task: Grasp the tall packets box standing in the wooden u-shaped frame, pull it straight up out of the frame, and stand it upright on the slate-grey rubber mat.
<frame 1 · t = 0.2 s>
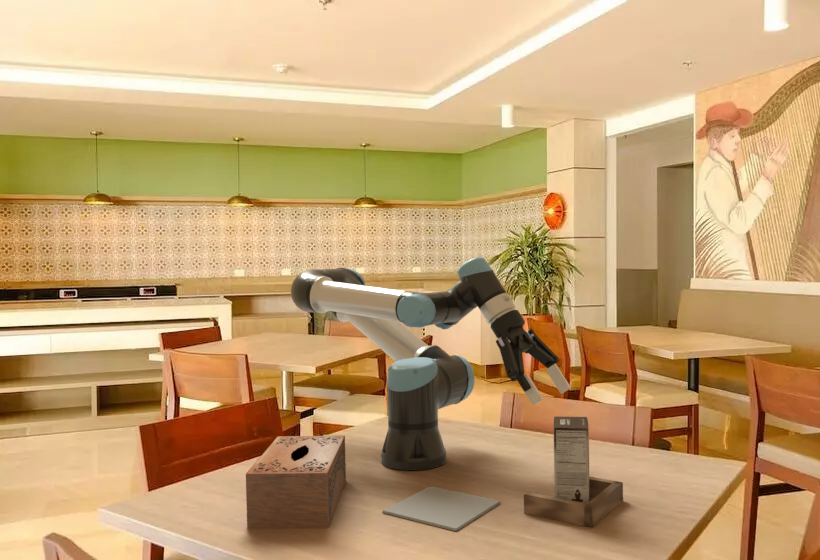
hand: (552, 396, 153), 16 cm above the table, tool tilted 35°, fingers open, 13 cm apart
grey mat: (442, 508, 129), on the table
coffee box: (572, 507, 129), on the table
wooden u-shaped frame: (572, 506, 129), on the table
tissue box cover: (301, 504, 134), on the table
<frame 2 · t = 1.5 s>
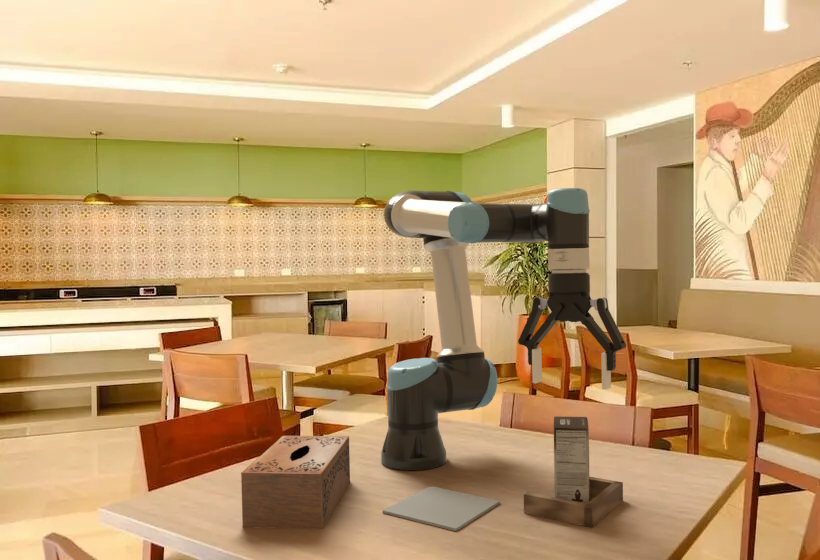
hand: (570, 385, 128), 23 cm above the table, tool pointing down, fingers open, 13 cm apart
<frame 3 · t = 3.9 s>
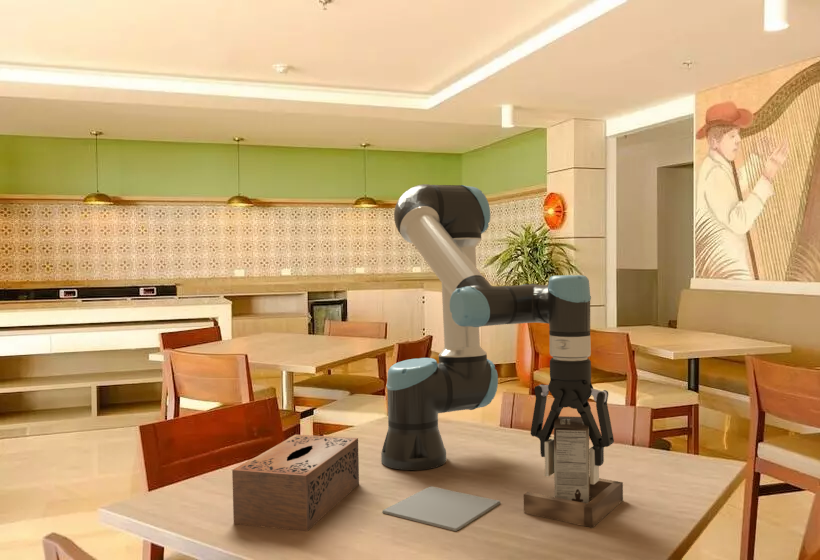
hand: (571, 478, 129), 5 cm above the table, tool pointing down, fingers closed on coffee box, 8 cm apart
coffee box: (572, 507, 129), on the table, touching gripper
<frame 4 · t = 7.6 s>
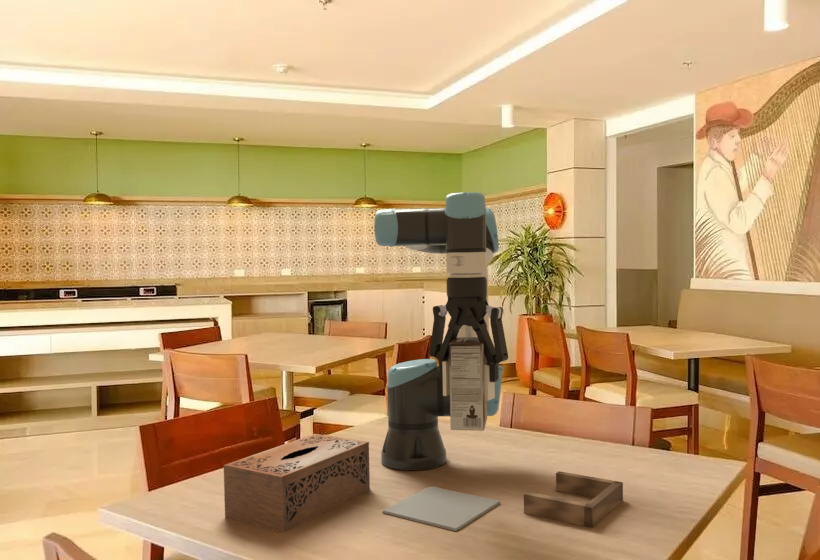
hand: (468, 396, 129), 21 cm above the table, tool pointing down, fingers closed on coffee box, 8 cm apart
coffee box: (469, 425, 129), point 15 cm above the table, touching gripper
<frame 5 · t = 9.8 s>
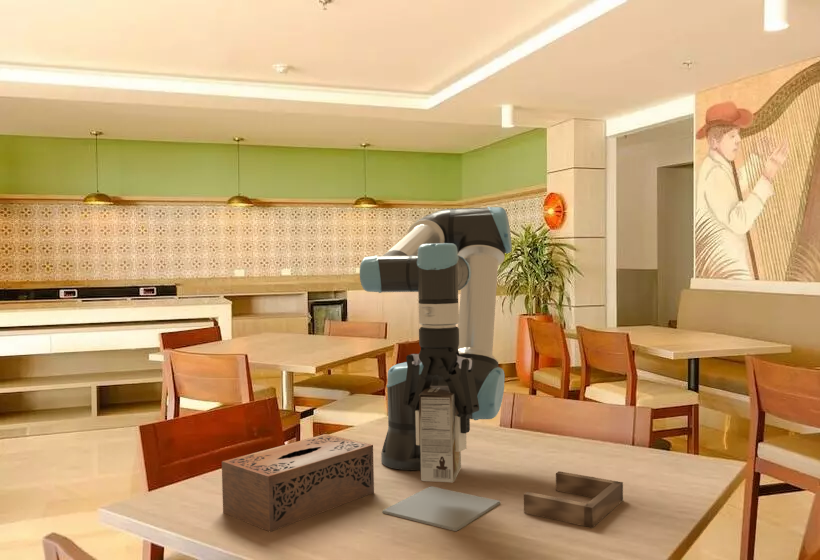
hand: (440, 446, 129), 12 cm above the table, tool pointing down, fingers closed on coffee box, 8 cm apart
coffee box: (441, 475, 129), point 6 cm above the table, touching gripper
when the fingers open (7 cm above the table, at t = 11.5 s): coffee box drops 1 cm, resting on grey mat.
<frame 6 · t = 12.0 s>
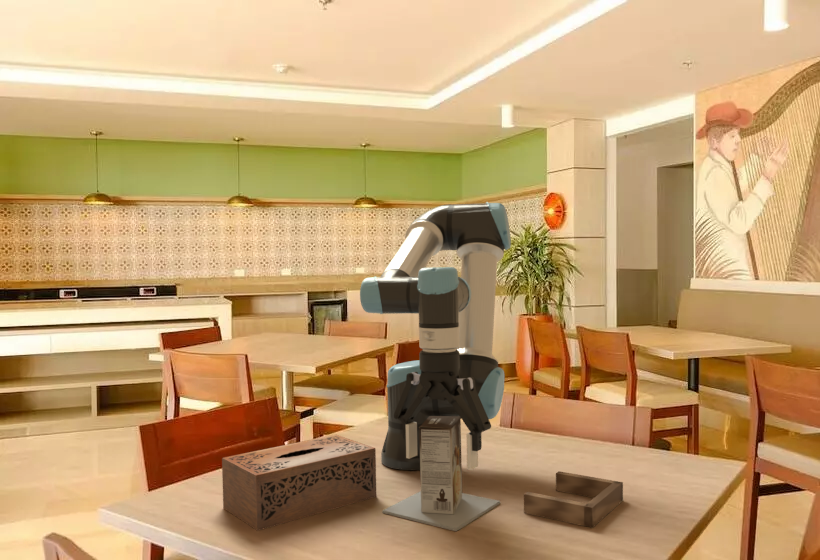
hand: (441, 462, 129), 9 cm above the table, tool pointing down, fingers open, 13 cm apart
coffee box: (442, 506, 129), resting on grey mat
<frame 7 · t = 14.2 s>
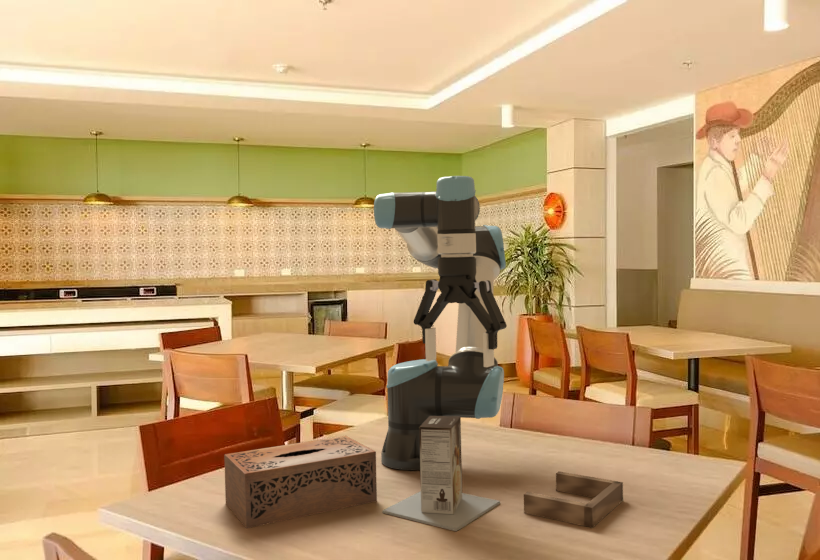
hand: (459, 363, 136), 26 cm above the table, tool pointing down, fingers open, 13 cm apart
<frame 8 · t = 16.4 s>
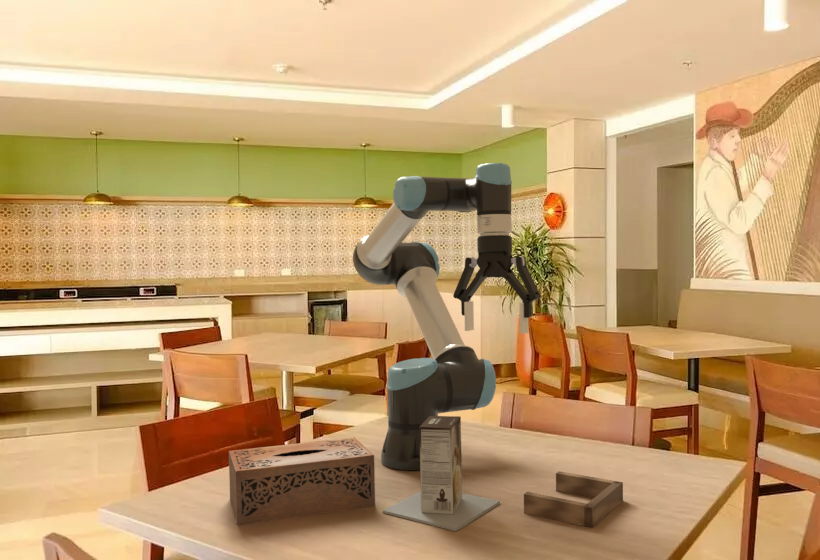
hand: (496, 331, 151), 31 cm above the table, tool pointing down, fingers open, 13 cm apart
at the end: coffee box inside the target area on the grey mat (0.0 cm from its centre), point 0.3 cm above the grey mat's base; coffee box tilted 0°; the gripper is holding nothing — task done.
